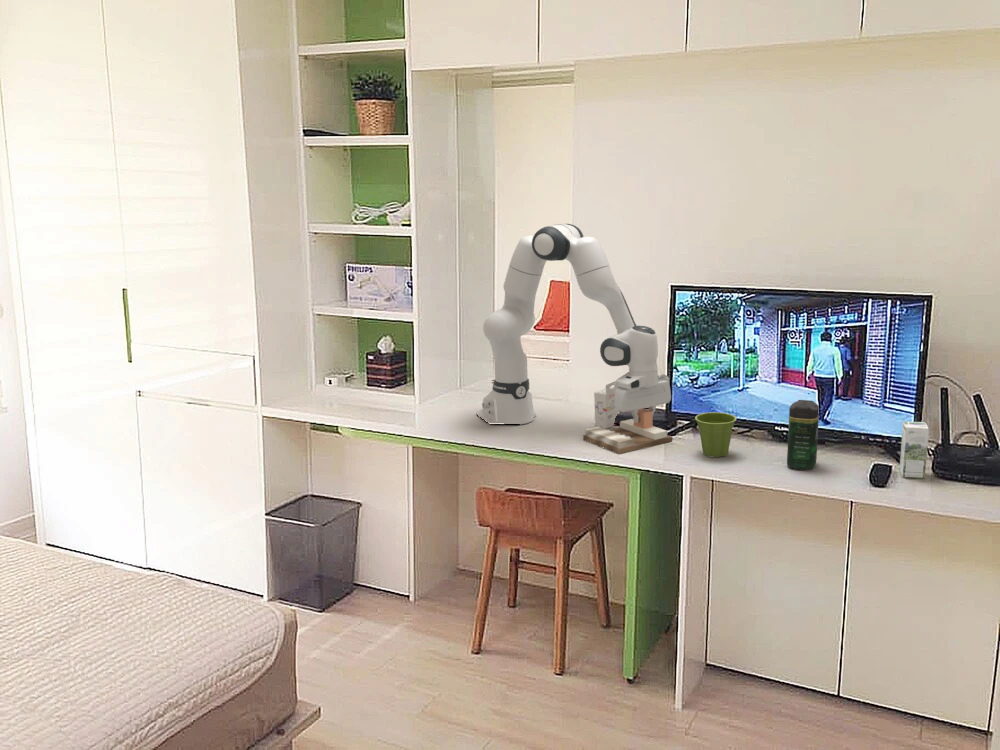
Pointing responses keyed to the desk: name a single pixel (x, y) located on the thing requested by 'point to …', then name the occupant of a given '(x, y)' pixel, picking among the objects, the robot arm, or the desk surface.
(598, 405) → the ink cartridge box
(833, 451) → the desk surface
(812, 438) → the coffee jar
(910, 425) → the syrup box
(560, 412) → the desk surface
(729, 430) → the plant pot
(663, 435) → the white bar with block
